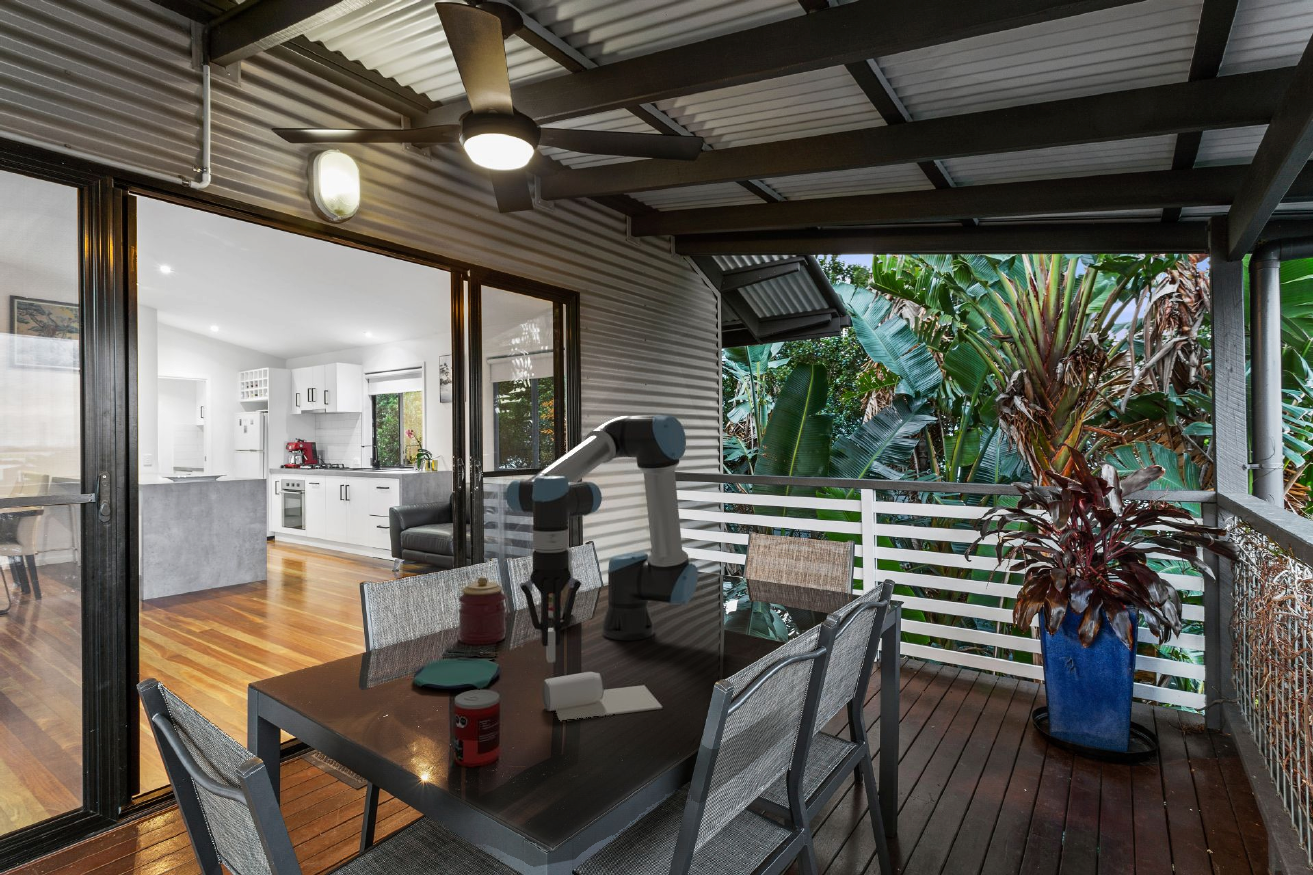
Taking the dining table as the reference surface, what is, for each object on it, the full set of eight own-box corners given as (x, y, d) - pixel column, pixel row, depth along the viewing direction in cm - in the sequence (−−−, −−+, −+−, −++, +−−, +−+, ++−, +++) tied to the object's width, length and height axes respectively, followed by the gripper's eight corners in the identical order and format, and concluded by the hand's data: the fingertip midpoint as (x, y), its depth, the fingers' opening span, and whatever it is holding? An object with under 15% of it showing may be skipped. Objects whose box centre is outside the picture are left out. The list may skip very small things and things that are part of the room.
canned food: (458, 748, 127) (459, 689, 127) (502, 747, 127) (502, 688, 127) (449, 768, 119) (450, 705, 119) (496, 767, 120) (496, 704, 120)
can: (544, 714, 145) (598, 704, 150) (551, 707, 140) (606, 696, 145) (540, 684, 148) (592, 675, 153) (546, 675, 144) (600, 666, 149)
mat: (549, 697, 151) (549, 695, 151) (644, 686, 158) (644, 685, 158) (559, 721, 139) (559, 719, 139) (662, 708, 146) (662, 706, 146)
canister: (482, 648, 186) (483, 583, 186) (448, 641, 192) (448, 578, 192) (515, 636, 197) (515, 575, 197) (481, 629, 203) (482, 570, 203)
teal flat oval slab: (401, 694, 153) (401, 684, 153) (439, 653, 183) (439, 645, 183) (490, 695, 154) (491, 685, 154) (514, 654, 184) (514, 645, 184)
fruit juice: (570, 619, 215) (570, 530, 215) (540, 618, 216) (540, 530, 216) (574, 611, 225) (575, 526, 225) (546, 610, 225) (547, 526, 225)
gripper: (521, 554, 139) (521, 669, 140) (584, 550, 143) (584, 662, 144) (517, 548, 146) (517, 657, 147) (577, 544, 150) (577, 651, 151)
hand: (550, 660), depth 145 cm, fingers closed
